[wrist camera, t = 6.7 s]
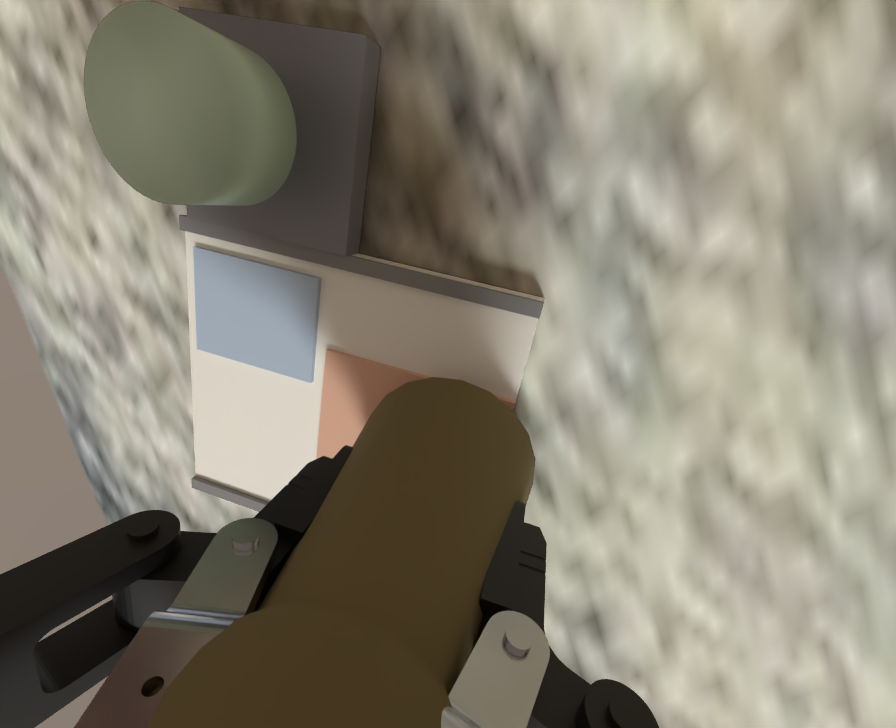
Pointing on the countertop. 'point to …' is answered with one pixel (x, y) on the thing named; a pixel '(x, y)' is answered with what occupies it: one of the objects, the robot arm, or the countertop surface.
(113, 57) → the button
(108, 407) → the countertop surface
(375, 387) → the picture board
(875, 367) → the countertop surface
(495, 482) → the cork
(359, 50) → the button housing
